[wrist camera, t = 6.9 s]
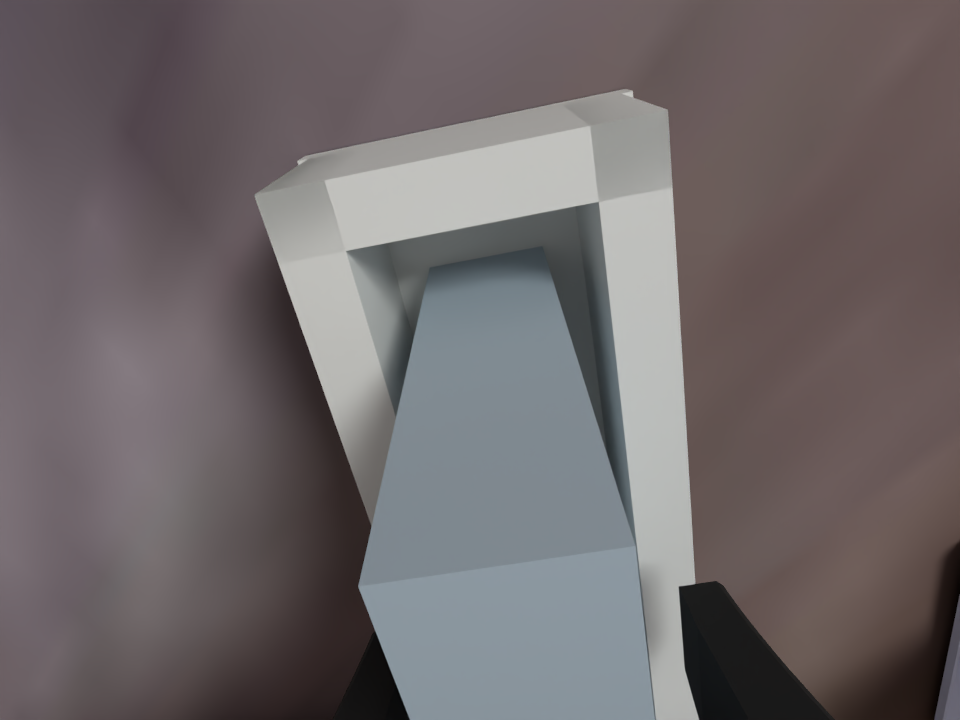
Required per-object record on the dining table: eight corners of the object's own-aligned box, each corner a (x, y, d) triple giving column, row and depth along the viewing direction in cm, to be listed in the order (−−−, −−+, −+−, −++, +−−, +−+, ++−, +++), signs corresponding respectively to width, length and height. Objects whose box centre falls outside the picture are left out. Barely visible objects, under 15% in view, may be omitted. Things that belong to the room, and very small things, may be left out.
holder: (625, 88, 11) (683, 106, 8) (675, 673, 18) (716, 807, 15) (305, 156, 12) (239, 197, 9) (473, 699, 19) (472, 834, 16)
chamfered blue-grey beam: (541, 246, 12) (635, 546, 5) (607, 663, 17) (698, 1101, 10) (429, 267, 12) (358, 586, 5) (528, 674, 17) (562, 1111, 10)
